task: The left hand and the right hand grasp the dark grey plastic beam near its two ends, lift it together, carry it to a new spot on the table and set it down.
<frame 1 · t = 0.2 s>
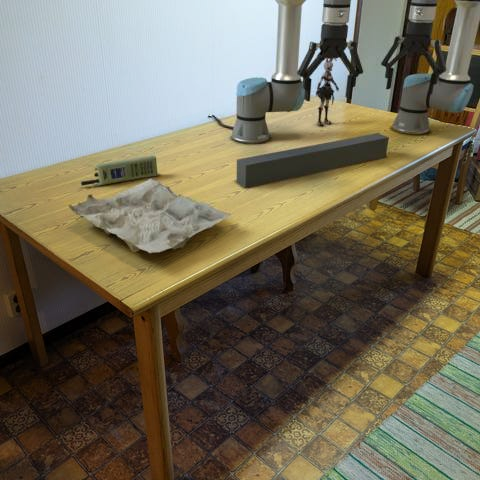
left hand: (327, 99, 154), 27 cm above the table, tool pointing down, fingers open, 13 cm apart
right hand: (408, 91, 165), 27 cm above the table, tool pointing down, fingers open, 13 cm apart
beam: (315, 168, 178), on the table
grey pulp egg tray: (150, 226, 139), on the table
handheld radio: (120, 181, 166), on the table
figurine: (322, 124, 225), on the table
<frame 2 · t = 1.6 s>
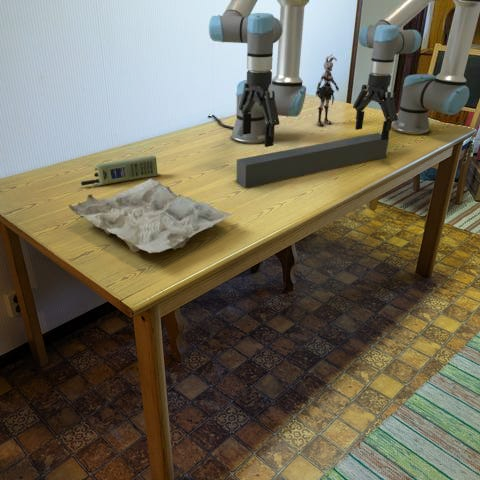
left hand: (257, 139, 161), 14 cm above the table, tool pointing down, fingers open, 13 cm apart
right hand: (371, 134, 184), 9 cm above the table, tool pointing down, fingers open, 13 cm apart
nothing on the table moved.
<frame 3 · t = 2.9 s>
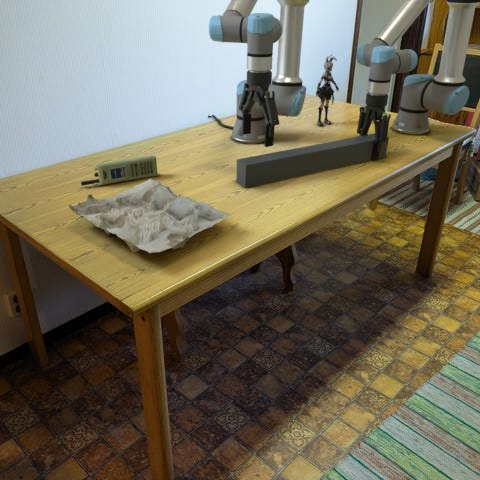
left hand: (257, 139, 161), 14 cm above the table, tool pointing down, fingers open, 13 cm apart
right hand: (368, 156, 188), 0 cm above the table, tool pointing down, fingers closed on beam, 6 cm apart
beam: (315, 168, 178), on the table, touching right hand
everything else where it was.
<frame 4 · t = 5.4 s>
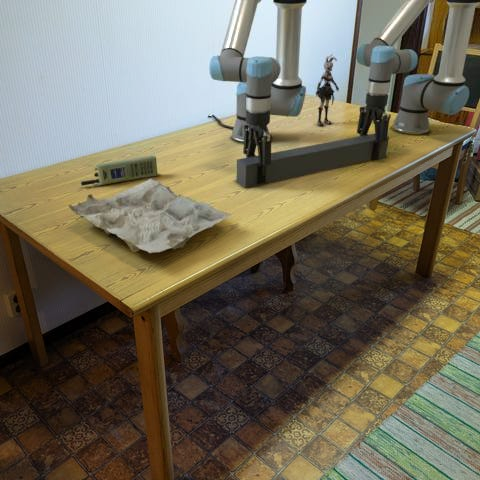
left hand: (256, 179, 167), 0 cm above the table, tool pointing down, fingers closed on beam, 6 cm apart
right hand: (368, 156, 188), 0 cm above the table, tool pointing down, fingers closed on beam, 6 cm apart
beam: (315, 168, 178), on the table, touching left hand, right hand
everything else where it was.
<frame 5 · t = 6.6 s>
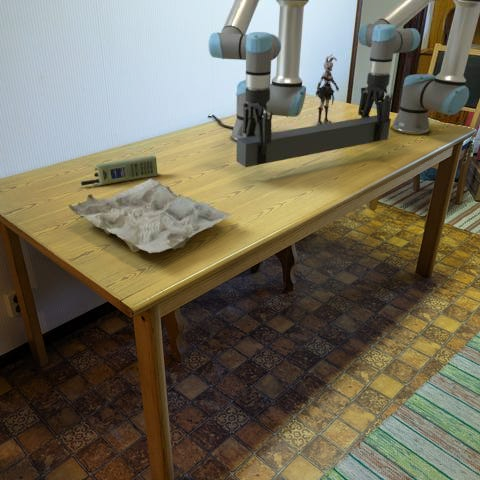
left hand: (256, 159, 165), 7 cm above the table, tool pointing down, fingers closed on beam, 6 cm apart
right hand: (370, 137, 186), 7 cm above the table, tool pointing down, fingers closed on beam, 6 cm apart
beam: (316, 149, 176), point 7 cm above the table, touching left hand, right hand
everything else where it was.
when the left hand's fingers open (7 cm above the table, at t = 7.9 s): beam stays where it is, point 7 cm above the table.
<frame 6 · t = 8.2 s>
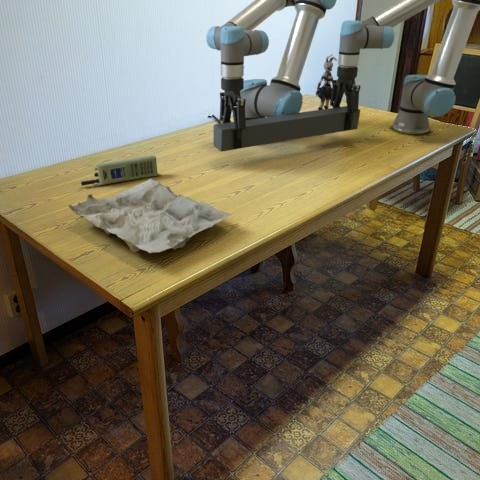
left hand: (232, 145, 177), 7 cm above the table, tool pointing down, fingers open, 7 cm apart
right hand: (341, 127, 198), 7 cm above the table, tool pointing down, fingers closed on beam, 6 cm apart
beam: (289, 136, 188), point 7 cm above the table, touching left arm, left hand, right hand
everything else where it was.
when the right hand's fingers open (1 cm above the table, at t = 9.1 s): beam stays where it is, on the table.
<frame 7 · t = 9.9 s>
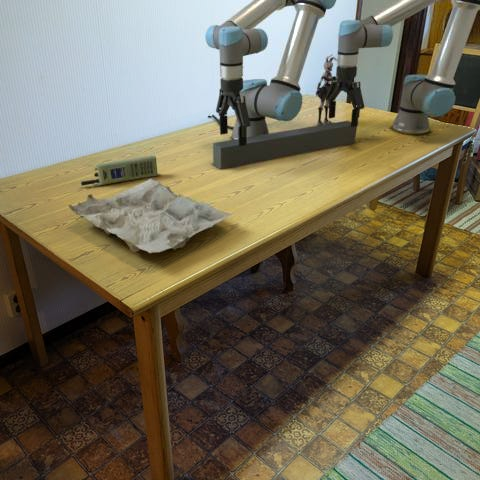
left hand: (233, 139, 178), 9 cm above the table, tool pointing down, fingers open, 13 cm apart
right hand: (342, 122, 198), 9 cm above the table, tool pointing down, fingers open, 13 cm apart
beam: (288, 152, 192), on the table
everything else where it was.
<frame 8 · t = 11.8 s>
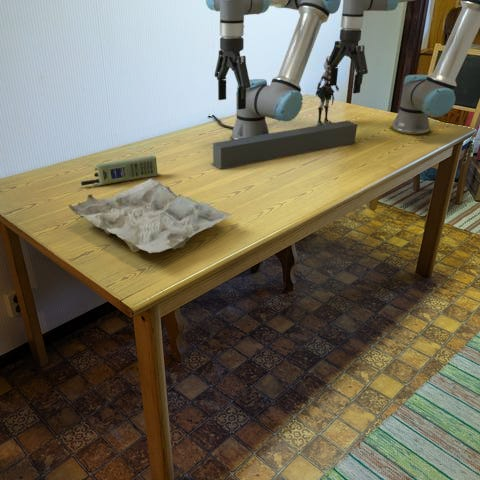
left hand: (231, 104, 171), 21 cm above the table, tool pointing down, fingers open, 13 cm apart
right hand: (344, 89, 192), 21 cm above the table, tool pointing down, fingers open, 13 cm apart
nothing on the table moved.
at the end: beam inside the target area (0.1 cm from its centre), on the table; beam tilted 0°; beam never tilted more than 6° during the clip; both hands held the beam at the same time; the left hand is holding nothing; the right hand is holding nothing; beam at rest at the end (0.0 cm/s) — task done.
